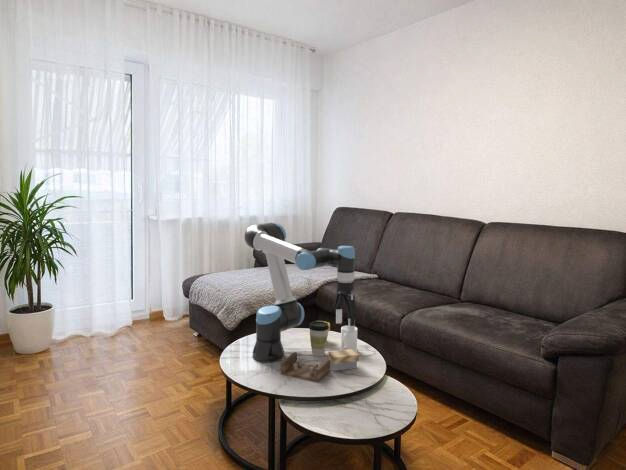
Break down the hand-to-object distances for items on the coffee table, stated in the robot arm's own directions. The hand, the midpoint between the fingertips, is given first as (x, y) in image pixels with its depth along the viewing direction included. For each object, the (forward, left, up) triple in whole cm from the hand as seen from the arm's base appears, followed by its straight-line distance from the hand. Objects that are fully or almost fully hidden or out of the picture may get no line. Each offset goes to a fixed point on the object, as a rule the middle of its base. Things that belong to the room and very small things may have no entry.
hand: (344, 327), depth 189 cm
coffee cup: (-17, +10, -19) cm, 28 cm away
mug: (-5, +18, -19) cm, 27 cm away
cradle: (-13, -12, -19) cm, 26 cm away
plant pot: (-23, +25, -19) cm, 39 cm away
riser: (0, 0, -19) cm, 19 cm away
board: (0, 0, -15) cm, 15 cm away
